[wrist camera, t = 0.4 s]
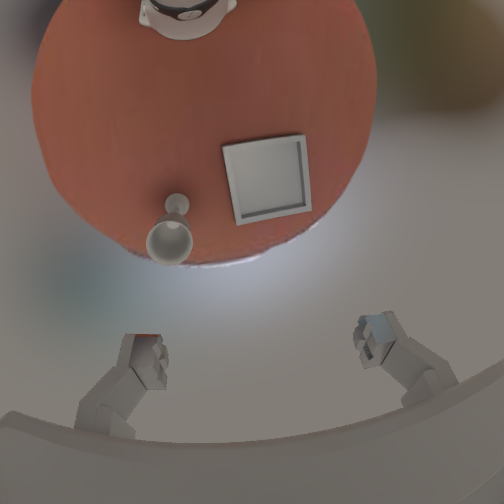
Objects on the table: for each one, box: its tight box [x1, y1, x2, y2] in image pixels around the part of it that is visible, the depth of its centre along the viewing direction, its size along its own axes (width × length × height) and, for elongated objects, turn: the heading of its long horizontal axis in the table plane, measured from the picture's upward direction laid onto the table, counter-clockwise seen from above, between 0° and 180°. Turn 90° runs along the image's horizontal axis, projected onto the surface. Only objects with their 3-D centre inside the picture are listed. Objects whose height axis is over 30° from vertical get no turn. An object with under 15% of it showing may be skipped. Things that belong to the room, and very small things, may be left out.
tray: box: [221, 134, 312, 225], centre depth 54 cm, size 16×16×3 cm
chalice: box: [146, 193, 193, 266], centre depth 47 cm, size 7×7×18 cm
